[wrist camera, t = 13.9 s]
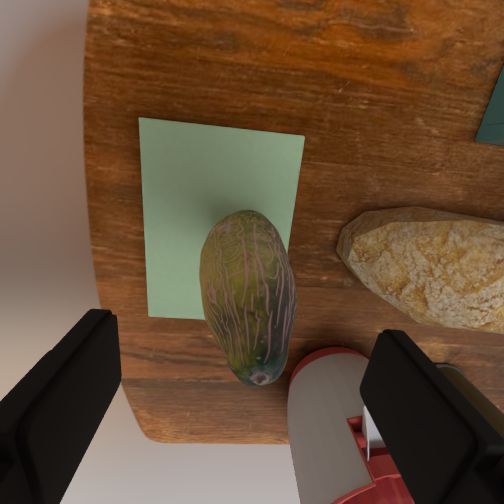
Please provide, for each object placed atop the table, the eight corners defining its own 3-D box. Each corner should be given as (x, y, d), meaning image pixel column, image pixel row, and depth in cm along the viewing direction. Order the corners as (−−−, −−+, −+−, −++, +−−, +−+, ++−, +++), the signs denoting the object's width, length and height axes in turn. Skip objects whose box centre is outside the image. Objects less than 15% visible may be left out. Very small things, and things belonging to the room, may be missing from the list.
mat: (142, 118, 25) (138, 117, 24) (302, 136, 26) (305, 135, 25) (150, 312, 32) (148, 316, 31) (275, 318, 34) (276, 323, 33)
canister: (383, 392, 39) (517, 606, 21) (441, 351, 37) (650, 549, 18) (422, 423, 42) (570, 635, 23) (477, 387, 40) (689, 589, 21)
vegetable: (208, 245, 29) (151, 411, 10) (220, 190, 27) (177, 265, 8) (259, 257, 29) (299, 431, 11) (275, 204, 27) (358, 304, 9)
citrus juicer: (391, 318, 35) (574, 508, 16) (373, 411, 41) (490, 628, 22) (277, 324, 34) (326, 530, 15) (276, 418, 40) (310, 648, 21)
